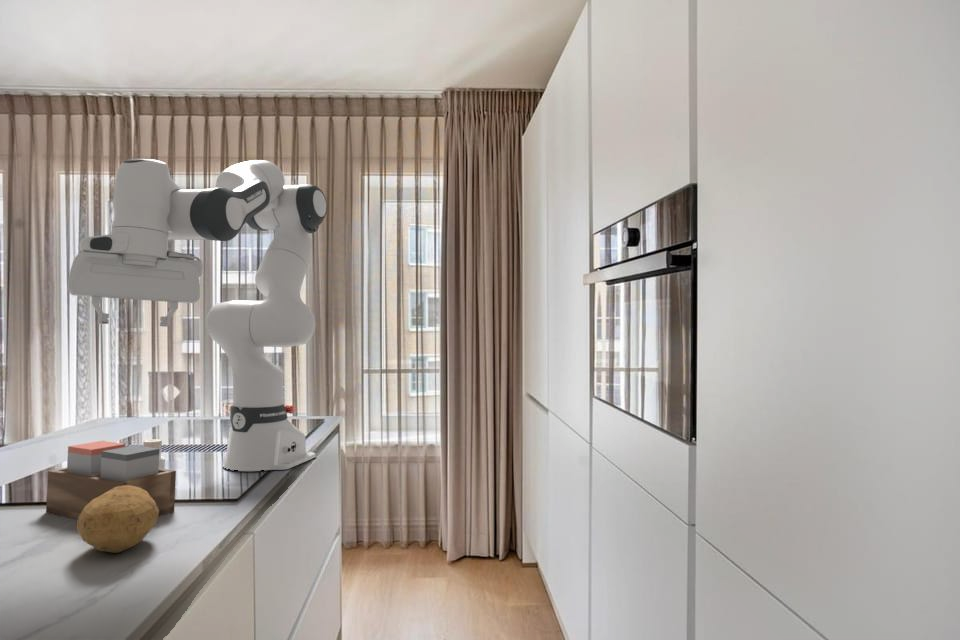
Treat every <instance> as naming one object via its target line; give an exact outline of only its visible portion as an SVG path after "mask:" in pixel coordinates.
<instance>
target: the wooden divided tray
mask: <svg viewBox="0 0 960 640" xmlns="http://www.w3.org/2000/svg"><path fill="white" fill-rule="evenodd" d="M100 475H101V473H97V474H92V475H82V474H76V473H70V472H67V466H66V467H61V468H56V469H51V470H47V482H46V483H47V484H46V487H47V488H46V508H45V513H48V514H51V515H56V516H61V517H66V518H70V519H74V520H78V517H79V516H80V514H81V512H82V511H83V509H84V508H85V506H86V505H87V504H89V503H90V502H91V501H92V500H93V499H95V498H97V497H99V496H101V495H102V494H104V493H106V492H107V491H109V490H111V489H113V488H114V487H118V486H124V485H131V486H135V487H140V488H142V489H144V490H145V491H147V492H148V494H149V495H150V496H151V497H152V499H153V500H154V501H155V503H156V505H157V507H158V509H159V514H158V517H159V516H164V515H167V514H169V513H172V512H175V501H176V500H175V499H176V481H177V480H176V476H177V470H174V469H173V470H172V469H167V468H165V469H162V468H159V471H158V473H157V474H153V475H149V476H145V477H140V478H136V479H132V480H128V481H123V482H122V481H116V480H110V479H105V478H100Z"/></svg>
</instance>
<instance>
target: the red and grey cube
mask: <svg viewBox="0 0 960 640" xmlns="http://www.w3.org/2000/svg"><path fill="white" fill-rule="evenodd" d="M123 447H126V444H125V443H121V442H116V441H115V442H114V441H106V440H98V441H92V442H87V443H86V442H85V443H81V444H74V445H68V446H67V464H66V467H67V472H70V473H76V474H82V475H92V474H97V473H101V453H102V451H106V450H112V449H117V448H123Z"/></svg>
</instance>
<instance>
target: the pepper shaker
mask: <svg viewBox="0 0 960 640" xmlns="http://www.w3.org/2000/svg"><path fill="white" fill-rule="evenodd" d="M162 441H163V439H157V438H155V439H154V438H153V439H146V440H143V443H142V446H144V447H151V448H158V449H159V468H162V469H166V467H165V466H166V457H164V455H162V449H163V448H162V443H163V442H162Z"/></svg>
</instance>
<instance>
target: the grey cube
mask: <svg viewBox="0 0 960 640" xmlns="http://www.w3.org/2000/svg"><path fill="white" fill-rule="evenodd" d="M158 471H159V449H158V448H151V447H144V445H142V446H141V445H129V446H125V447H123V448H117V449H112V450H106V451H102V453H101V475H100V478H105V479H110V480H116V481H122V482H123V481H128V480H132V479H136V478H140V477H145V476H149V475H153V474H157V473H158Z"/></svg>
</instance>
